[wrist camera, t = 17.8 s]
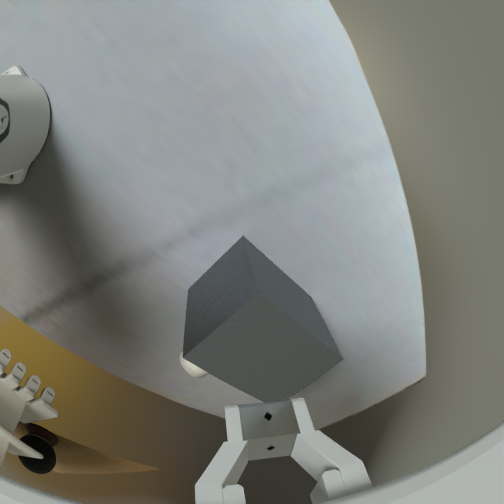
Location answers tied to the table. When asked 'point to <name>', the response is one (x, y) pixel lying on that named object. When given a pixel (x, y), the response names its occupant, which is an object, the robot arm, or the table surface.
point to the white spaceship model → (20, 406)
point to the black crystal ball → (39, 449)
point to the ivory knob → (191, 367)
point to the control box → (256, 327)
